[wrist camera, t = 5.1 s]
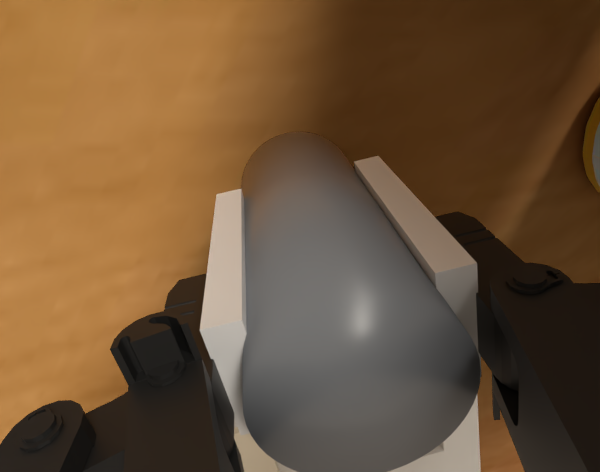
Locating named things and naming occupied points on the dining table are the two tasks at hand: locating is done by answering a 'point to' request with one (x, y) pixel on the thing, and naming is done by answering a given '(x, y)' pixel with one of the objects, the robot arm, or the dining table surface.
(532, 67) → the dining table surface
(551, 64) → the dining table surface
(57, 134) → the dining table surface
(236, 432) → the socket block
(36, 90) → the dining table surface
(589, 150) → the bottle
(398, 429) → the plug
